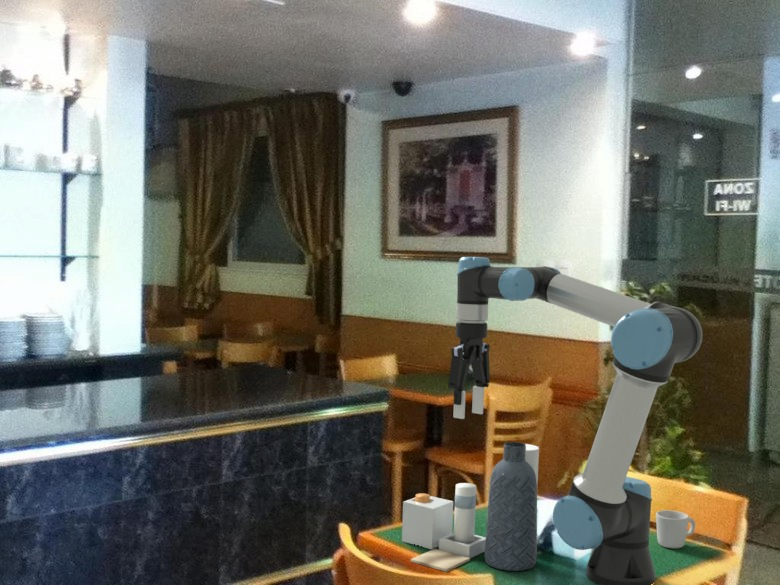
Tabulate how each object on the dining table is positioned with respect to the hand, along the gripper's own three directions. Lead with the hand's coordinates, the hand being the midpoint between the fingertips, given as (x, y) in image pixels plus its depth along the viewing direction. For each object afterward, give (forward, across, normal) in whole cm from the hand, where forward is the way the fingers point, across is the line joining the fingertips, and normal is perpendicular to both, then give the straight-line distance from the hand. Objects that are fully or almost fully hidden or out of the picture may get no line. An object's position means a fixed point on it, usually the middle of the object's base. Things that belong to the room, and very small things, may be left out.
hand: (468, 415), depth 229 cm
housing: (+33, 0, -6) cm, 34 cm away
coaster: (+33, +10, 0) cm, 35 cm away
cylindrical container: (+33, -12, +9) cm, 37 cm away
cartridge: (+33, 0, 0) cm, 33 cm away
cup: (+33, -40, +38) cm, 64 cm away
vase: (+33, 0, +13) cm, 36 cm away
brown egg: (+28, 0, -12) cm, 31 cm away
